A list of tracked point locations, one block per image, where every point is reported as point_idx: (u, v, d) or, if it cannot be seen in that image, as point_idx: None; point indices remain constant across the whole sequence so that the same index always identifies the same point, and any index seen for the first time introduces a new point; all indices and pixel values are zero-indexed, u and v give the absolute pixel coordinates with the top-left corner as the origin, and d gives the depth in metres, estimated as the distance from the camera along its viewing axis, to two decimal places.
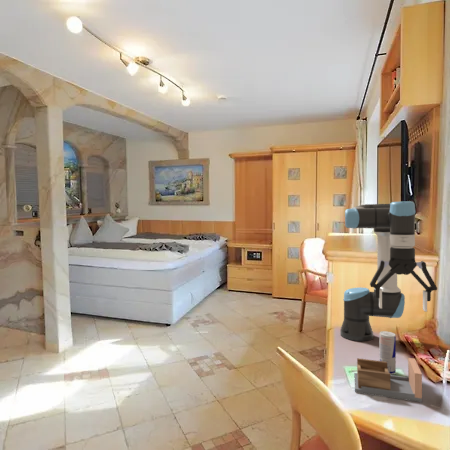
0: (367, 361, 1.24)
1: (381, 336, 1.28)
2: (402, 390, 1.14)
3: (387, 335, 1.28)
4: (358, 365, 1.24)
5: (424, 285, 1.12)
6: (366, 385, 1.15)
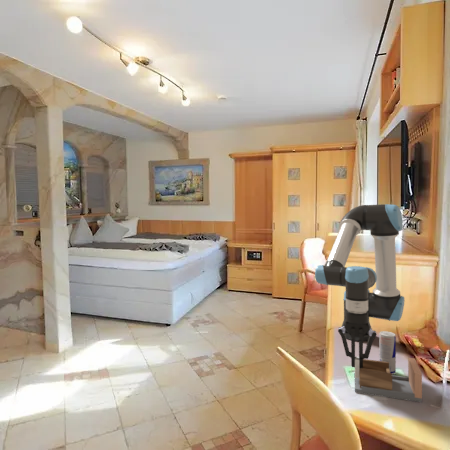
0: (368, 362, 1.23)
1: (381, 336, 1.28)
2: (402, 390, 1.14)
3: (387, 335, 1.28)
4: None
5: (360, 352, 1.19)
6: (368, 385, 1.15)
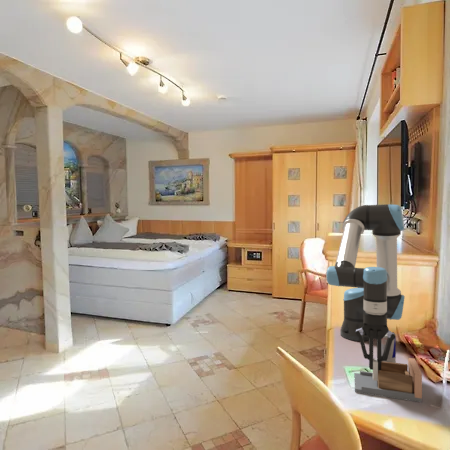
0: (386, 364, 1.21)
1: None
2: None
3: None
4: None
5: (379, 354, 1.17)
6: (387, 388, 1.13)
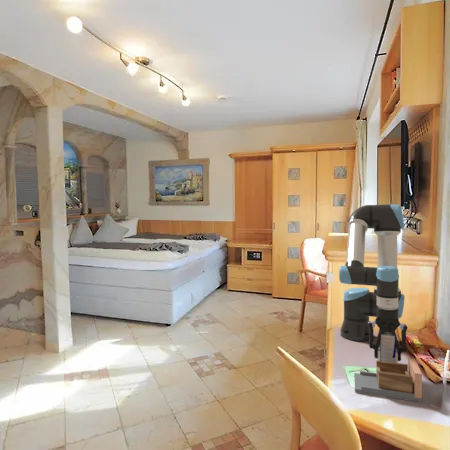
0: (387, 364, 1.21)
1: (381, 336, 1.28)
2: None
3: (387, 335, 1.28)
4: (377, 367, 1.22)
5: (397, 346, 1.27)
6: (387, 388, 1.13)
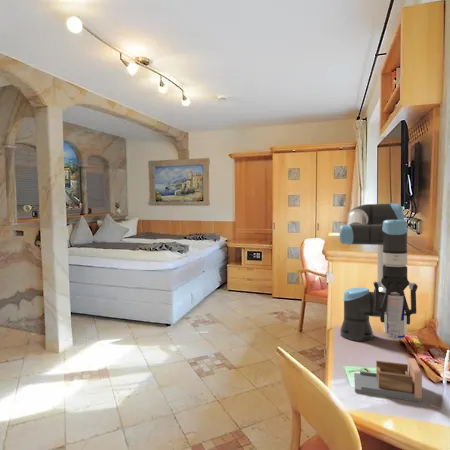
0: (387, 364, 1.21)
1: (388, 297, 1.15)
2: None
3: (395, 295, 1.14)
4: (377, 367, 1.22)
5: (406, 307, 1.14)
6: (387, 388, 1.13)
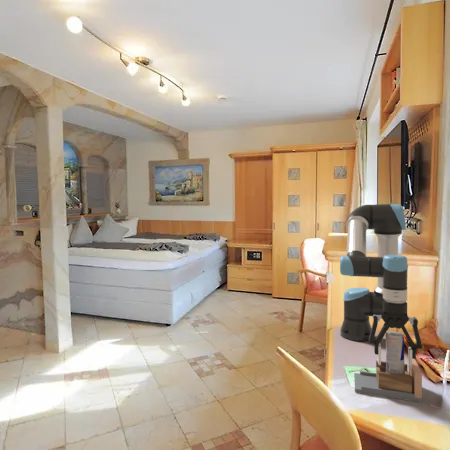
0: None
1: (388, 336, 1.16)
2: None
3: (394, 335, 1.16)
4: (377, 367, 1.22)
5: (411, 342, 1.14)
6: (387, 388, 1.13)
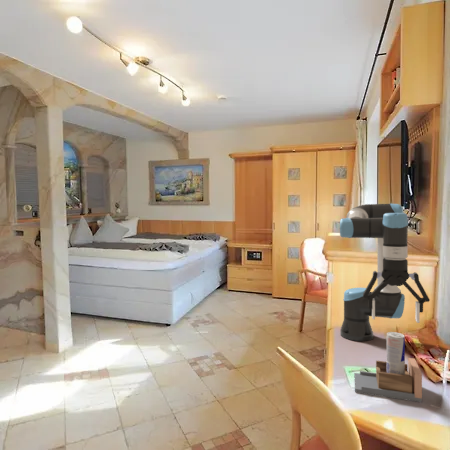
0: (386, 364, 1.21)
1: (388, 337, 1.16)
2: None
3: (395, 336, 1.15)
4: (377, 367, 1.22)
5: (416, 296, 1.13)
6: (387, 388, 1.13)
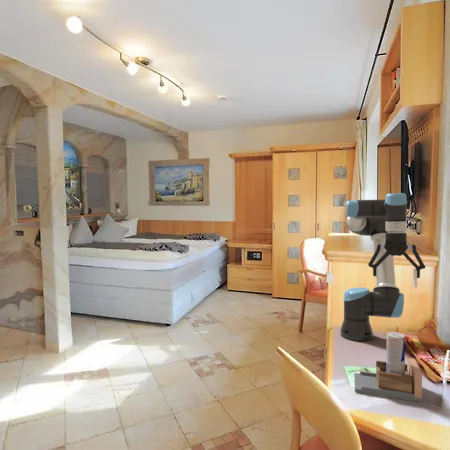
0: (386, 364, 1.21)
1: (388, 337, 1.16)
2: None
3: (395, 336, 1.15)
4: (377, 367, 1.22)
5: (414, 264, 1.32)
6: (387, 388, 1.13)
